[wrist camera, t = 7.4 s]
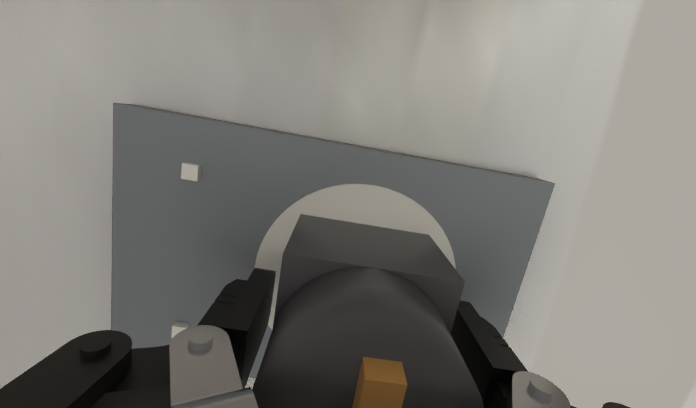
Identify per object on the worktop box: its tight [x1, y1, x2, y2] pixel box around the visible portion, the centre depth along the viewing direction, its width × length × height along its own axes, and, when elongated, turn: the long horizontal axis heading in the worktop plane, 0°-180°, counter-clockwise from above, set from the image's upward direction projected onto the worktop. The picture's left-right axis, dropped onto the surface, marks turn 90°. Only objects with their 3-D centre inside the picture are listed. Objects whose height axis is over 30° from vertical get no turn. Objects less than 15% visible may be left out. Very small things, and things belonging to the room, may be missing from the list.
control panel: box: [111, 103, 555, 378], centre depth 13 cm, size 17×11×4 cm, turn 80°
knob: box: [252, 214, 484, 408], centre depth 10 cm, size 5×5×7 cm
